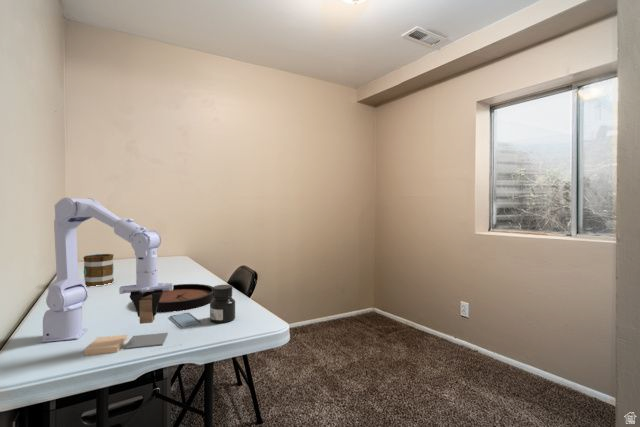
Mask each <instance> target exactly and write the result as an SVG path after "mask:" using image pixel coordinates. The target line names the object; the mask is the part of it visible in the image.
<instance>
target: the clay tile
mask: <svg viewBox="0 0 640 427" xmlns="http://www.w3.org/2000/svg"><path fill="white" fill-rule="evenodd" d="M127 340H128V334H120V335H119V334H118V335H110V336H97V337H96V338H95V339H94V340H93V341H92V342H91V343H90V344H89V345H88V346H87V347H86V348H85V349H84V356H91V355H92V356H93V355H94V356H95V355H101V354H102V355H103V354H111V353H112V354H113V353H118V352H119V351H120V349H121V348H122V347H123V346H124V344H125V342H126V341H127Z"/></svg>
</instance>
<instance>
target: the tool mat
mask: <svg viewBox="0 0 640 427" xmlns="http://www.w3.org/2000/svg"><path fill="white" fill-rule="evenodd" d="M168 334H169V333H168V332H161V333H151V334H138V335H133V336H132V337H131V338H130V340H129V341H128V342H127V343H126V345H125V347H124V349H125V350H130V349H131V350H132V349H139V348H148V347H157V346H163V345H164V343H165V341H166V338H167V337H168Z"/></svg>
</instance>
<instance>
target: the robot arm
mask: <svg viewBox="0 0 640 427" xmlns="http://www.w3.org/2000/svg"><path fill="white" fill-rule="evenodd" d="M93 218H94V219H96V220H98V221H100V222H101V223H103V224H105V225H107V226H109V227H110V228H112V229H113V233H114V234H115V235H116V236H118V237H119V238H121V239H123V240H124V241H126V242H128V243H130V245H131V248H132V249H133V251H134V256H135V259H136V260H135V262H136V264H135V266H136V267H135V268H136V270H135V271H136V272H135V274H136V275H135V277H136V280H135V281H136V282H135V283H136V284H129V285H121V286H119V288H118V290H119V295H123V294H129V298H130V300H131V302H132V304H133V305H134V308H135V310H136V313H137V317H138V318H140V313H139V300H140V299H141V298H142V293H143V292H150V291H154V292H153V293H152V300H153V316H156V315H157V314H158V312H157V307H158V304H159V301H160V298H161V296H162V294H163V292H164V291H166V290H169V291H172V290H173V285H174V282H170V283H169V282H168V283H167V282H164V283H163V282H158V248H159V247H160V246H161V243H162V237H161V235H160V234H159V233H158V232H157V231H156V230H148V229H147V227H145V226H141V225H139V224H138V223H136V222H135V220H134V219H133V218H128V217H126V218H121V217H119V216H118V215H116V214H114V213H113V211H110V210H109V209H108V208H106V207H105V206H103V205H102V202H100V201H97V200H96V199H94V198H90V197H89V198H80V197H79V198H76V197H72V198H71V197H63V198H61V199H60V200H58V201H57V202H56V204H54V221H53V228H54V229H53V230H54V248H55V249H54V250H55V267H56V270H55V271H56V272H55V273H56V279H55V280H54V281H53V282H52V283H51V284H50V285H49V286H48V287H47V289H48V290H47V292H48V293H47V295H46V296H45V297H46V298H45V303H46V306H47V307H48V309H47V310H46V311H45V312H44V314H43V318H42V340H41V342H42V343H47V342H58V341H69V340H77V339H79V338H80V337H81V336H83V335H84V334H85V333H86V332H87V331H88V328H83V306H84V305H85V302H86V301H87V299H88V298H89V290H88V287H87V286H85V280H84V279H83V278H82V277H80V276H79V262H78V259H79V258H78V238H77V228H78V227H79V226H80V225H81V224H82V223H83V222H86V221H88V220H90V219H93Z"/></svg>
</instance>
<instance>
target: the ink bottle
mask: <svg viewBox="0 0 640 427" xmlns="http://www.w3.org/2000/svg"><path fill="white" fill-rule="evenodd" d="M212 287H213V298H214V299H213V300H212V301H211V302H210V304H209V320H210V321H211V322H212V323H216V324H224V323H225V324H226V323H229V322H232V321H234V320H235V319H236V300H235V299H234V298H233V285H231V284H218V285H215V286H212Z"/></svg>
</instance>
